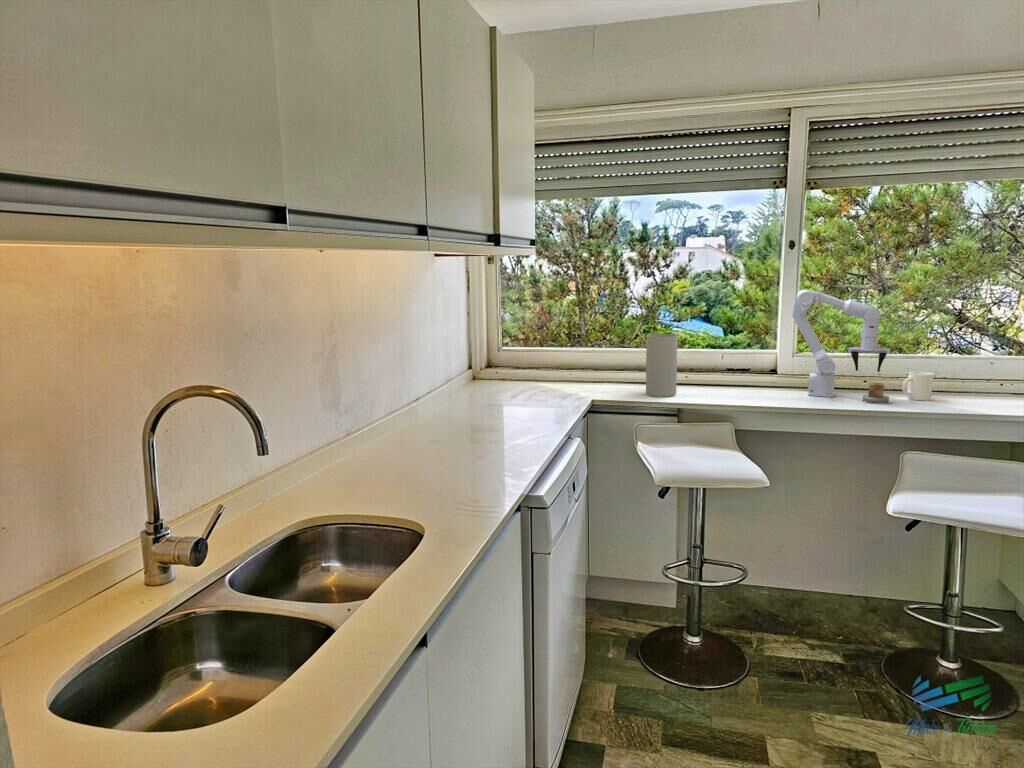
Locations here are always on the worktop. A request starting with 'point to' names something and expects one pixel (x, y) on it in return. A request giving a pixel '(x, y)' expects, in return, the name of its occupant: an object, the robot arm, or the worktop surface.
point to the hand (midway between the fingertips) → (867, 371)
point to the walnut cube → (876, 390)
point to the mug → (918, 385)
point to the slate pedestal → (876, 399)
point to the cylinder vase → (661, 365)
